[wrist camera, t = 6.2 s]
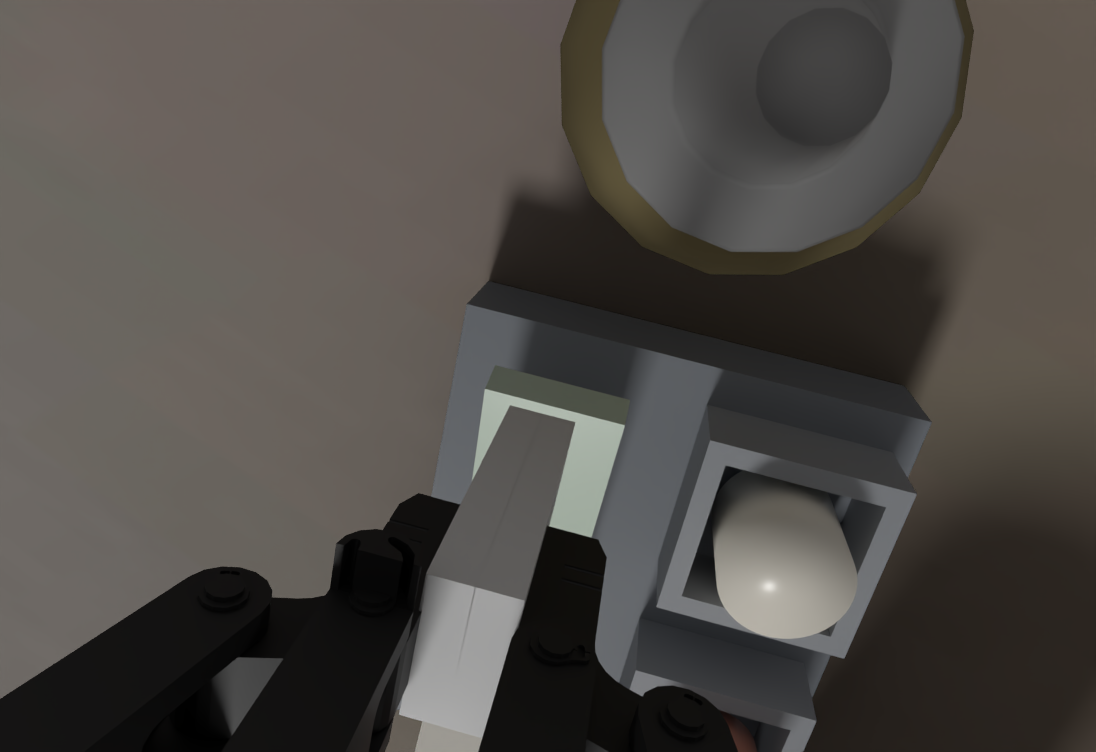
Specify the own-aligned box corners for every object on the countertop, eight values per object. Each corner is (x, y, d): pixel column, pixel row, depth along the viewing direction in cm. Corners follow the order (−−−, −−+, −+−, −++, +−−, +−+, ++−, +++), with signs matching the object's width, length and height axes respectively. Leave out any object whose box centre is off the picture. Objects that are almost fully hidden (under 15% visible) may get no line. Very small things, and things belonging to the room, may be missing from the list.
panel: (904, 385, 26) (961, 461, 21) (754, 750, 32) (769, 880, 27) (488, 280, 27) (443, 328, 22) (416, 654, 33) (367, 762, 28)
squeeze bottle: (612, 241, 26) (496, 530, 9) (558, -31, 24) (269, -309, 7) (876, 189, 24) (1321, 428, 8) (848, -110, 22) (1415, -742, 5)
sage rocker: (633, 381, 21) (624, 425, 20) (579, 565, 26) (569, 611, 25) (503, 347, 22) (484, 389, 20) (473, 536, 27) (458, 580, 25)
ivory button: (851, 481, 24) (878, 543, 21) (811, 581, 25) (830, 653, 22) (731, 450, 24) (739, 506, 21) (697, 550, 25) (700, 618, 22)
